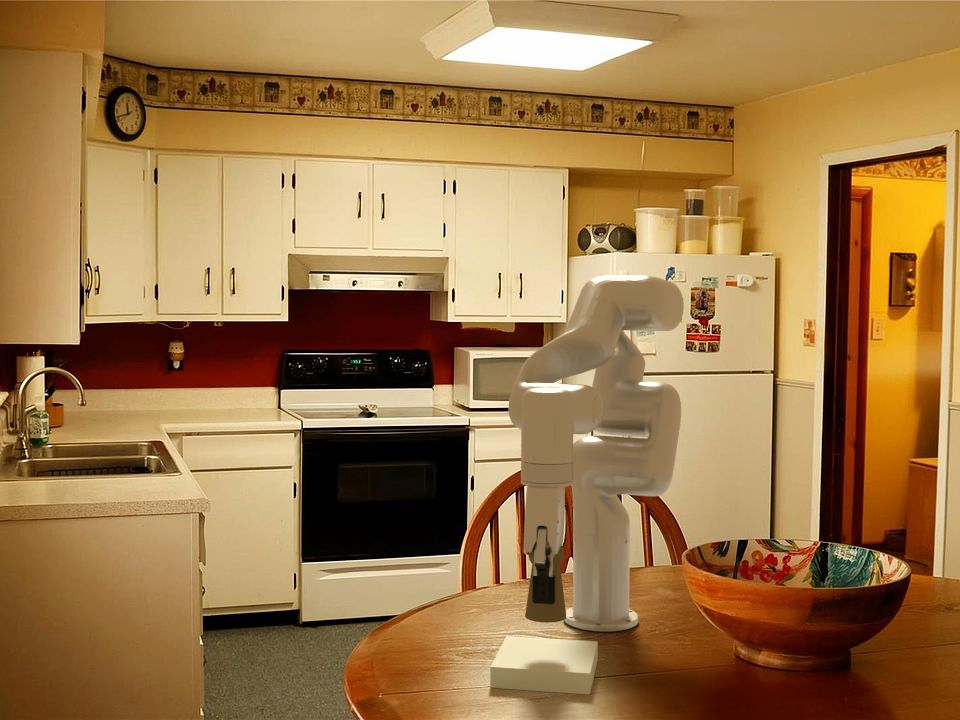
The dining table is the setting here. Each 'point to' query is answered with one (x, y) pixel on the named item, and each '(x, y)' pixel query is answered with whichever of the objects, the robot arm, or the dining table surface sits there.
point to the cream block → (545, 665)
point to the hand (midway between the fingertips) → (545, 597)
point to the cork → (557, 609)
